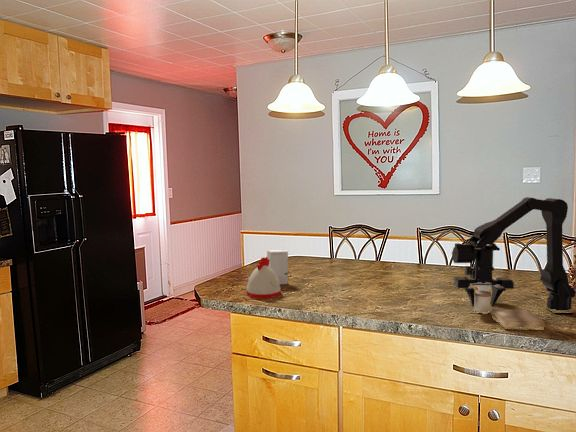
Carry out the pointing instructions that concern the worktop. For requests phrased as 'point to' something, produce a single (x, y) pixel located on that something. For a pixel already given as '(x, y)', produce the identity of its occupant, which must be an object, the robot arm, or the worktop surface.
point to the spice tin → (482, 301)
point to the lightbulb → (484, 287)
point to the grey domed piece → (263, 281)
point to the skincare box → (279, 264)
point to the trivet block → (517, 318)
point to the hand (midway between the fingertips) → (482, 306)
